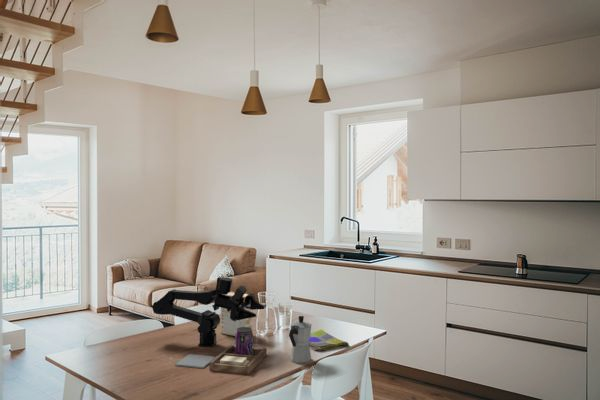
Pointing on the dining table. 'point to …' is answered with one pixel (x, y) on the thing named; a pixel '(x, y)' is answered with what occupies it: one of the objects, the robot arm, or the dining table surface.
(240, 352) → the beverage can
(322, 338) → the dish towel
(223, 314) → the coffeecake box
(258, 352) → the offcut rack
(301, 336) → the coffee maker
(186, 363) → the slate mat
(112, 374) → the dining table surface
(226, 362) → the offcut stack
